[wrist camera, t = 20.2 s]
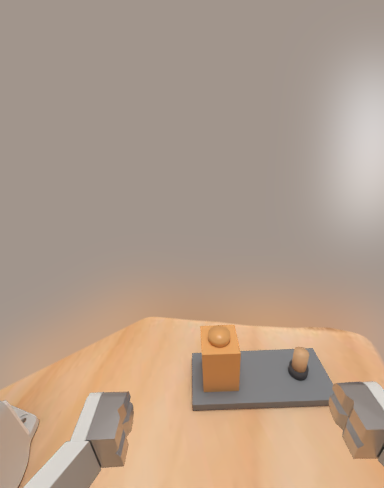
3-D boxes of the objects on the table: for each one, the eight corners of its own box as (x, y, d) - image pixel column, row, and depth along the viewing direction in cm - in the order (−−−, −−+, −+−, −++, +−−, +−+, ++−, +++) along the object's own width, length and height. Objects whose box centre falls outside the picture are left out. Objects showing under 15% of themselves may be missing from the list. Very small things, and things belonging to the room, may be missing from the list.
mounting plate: (193, 410, 39) (190, 385, 36) (192, 358, 48) (190, 334, 46) (339, 405, 39) (348, 378, 36) (311, 353, 48) (316, 329, 45)
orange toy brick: (203, 392, 40) (201, 349, 36) (202, 361, 46) (200, 321, 42) (238, 390, 40) (241, 347, 36) (233, 360, 46) (234, 319, 41)
